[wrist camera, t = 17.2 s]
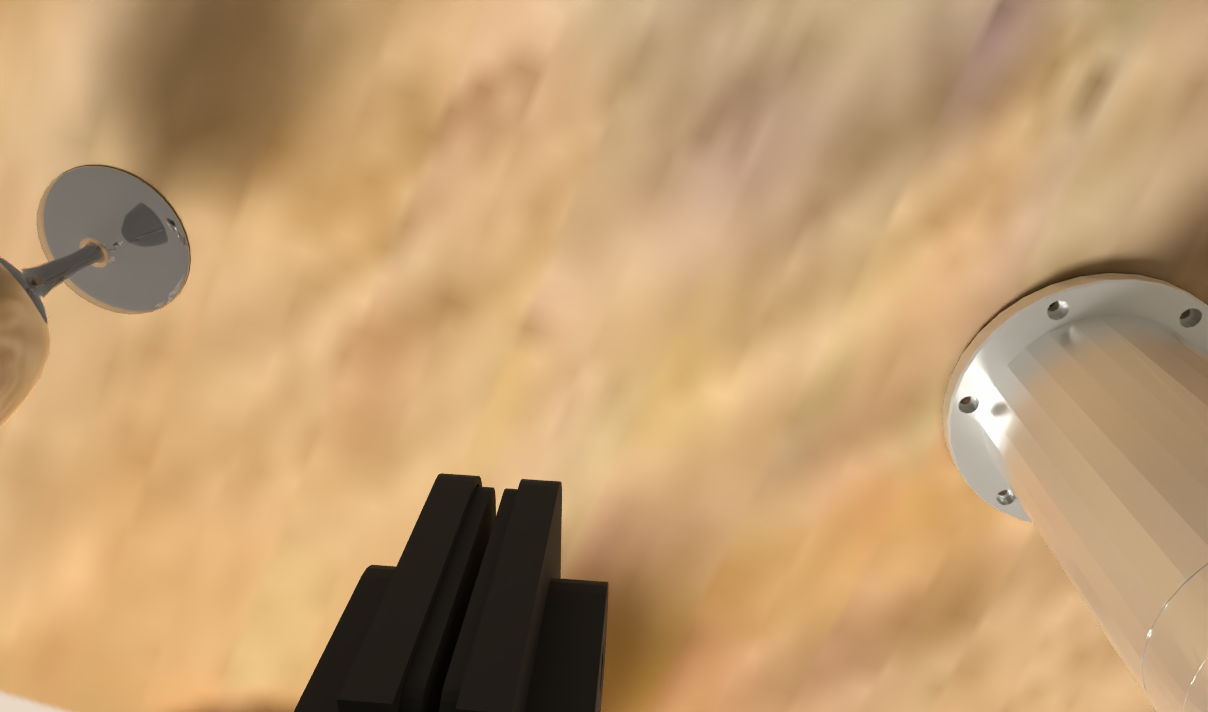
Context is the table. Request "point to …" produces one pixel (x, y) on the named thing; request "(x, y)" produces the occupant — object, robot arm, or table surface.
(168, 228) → the wine glass
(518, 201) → the table surface
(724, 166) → the table surface
